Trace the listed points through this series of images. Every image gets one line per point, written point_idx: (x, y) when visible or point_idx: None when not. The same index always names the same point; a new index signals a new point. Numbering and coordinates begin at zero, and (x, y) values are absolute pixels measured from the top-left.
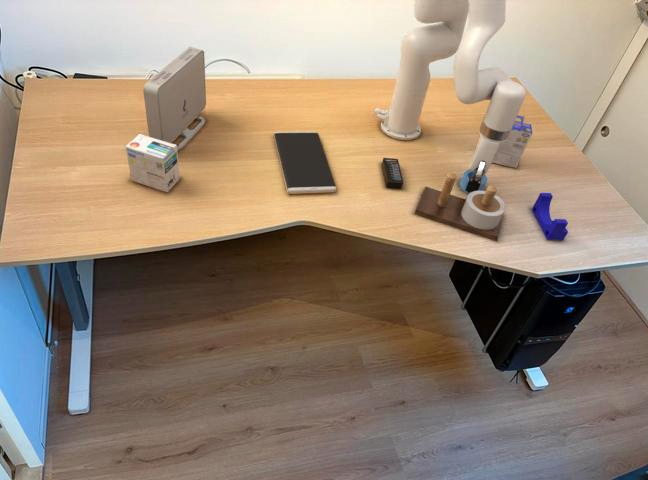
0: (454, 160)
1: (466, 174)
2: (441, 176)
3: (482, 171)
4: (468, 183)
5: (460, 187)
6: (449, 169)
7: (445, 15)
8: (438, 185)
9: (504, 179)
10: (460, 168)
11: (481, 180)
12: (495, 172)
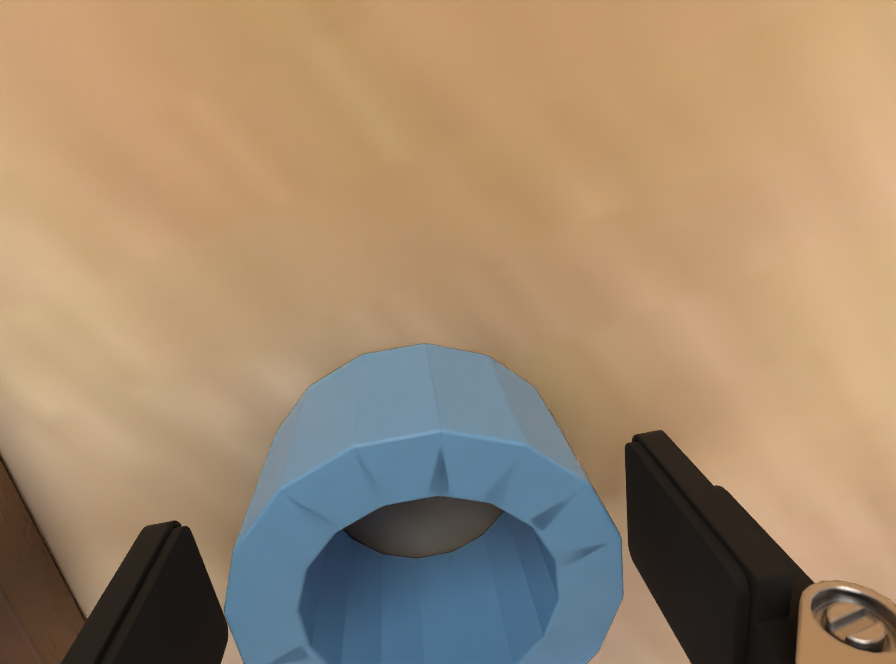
0: (884, 91)
1: (386, 489)
2: (365, 57)
3: (659, 601)
4: (83, 640)
5: (308, 388)
6: (621, 106)
7: None
8: (101, 103)
9: None
10: (727, 238)
11: (487, 620)
12: (834, 570)
